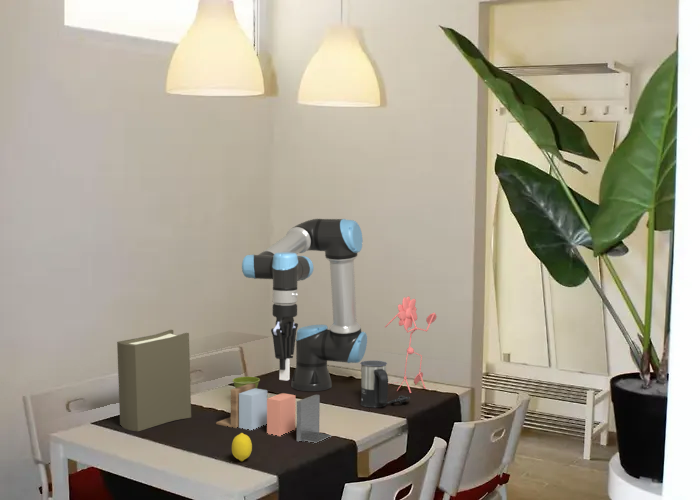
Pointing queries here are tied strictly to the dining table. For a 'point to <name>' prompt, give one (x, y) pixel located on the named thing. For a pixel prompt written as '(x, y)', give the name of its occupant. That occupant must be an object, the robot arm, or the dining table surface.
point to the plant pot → (245, 381)
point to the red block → (281, 414)
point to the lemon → (241, 447)
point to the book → (154, 380)
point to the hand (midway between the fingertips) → (284, 379)
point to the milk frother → (375, 385)
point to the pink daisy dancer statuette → (406, 318)
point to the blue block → (252, 409)
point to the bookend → (309, 420)
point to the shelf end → (235, 406)
